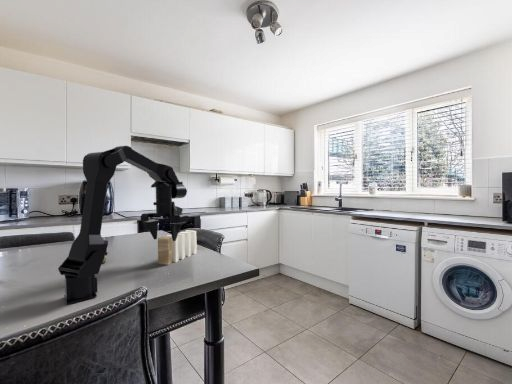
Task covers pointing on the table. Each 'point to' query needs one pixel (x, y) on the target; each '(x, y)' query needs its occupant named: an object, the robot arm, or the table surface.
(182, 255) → the domino
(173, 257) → the domino
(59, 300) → the table surface
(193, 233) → the domino
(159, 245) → the domino
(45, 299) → the table surface
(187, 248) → the domino
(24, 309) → the table surface
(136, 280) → the table surface
